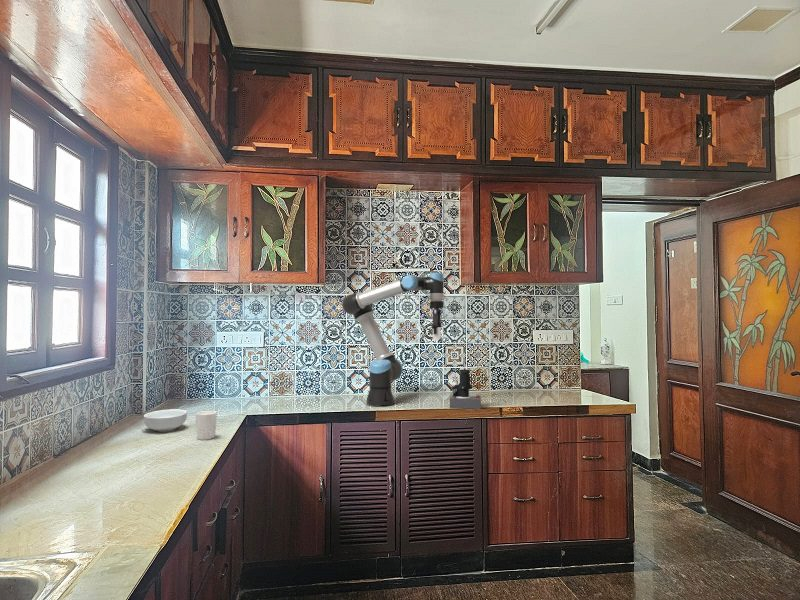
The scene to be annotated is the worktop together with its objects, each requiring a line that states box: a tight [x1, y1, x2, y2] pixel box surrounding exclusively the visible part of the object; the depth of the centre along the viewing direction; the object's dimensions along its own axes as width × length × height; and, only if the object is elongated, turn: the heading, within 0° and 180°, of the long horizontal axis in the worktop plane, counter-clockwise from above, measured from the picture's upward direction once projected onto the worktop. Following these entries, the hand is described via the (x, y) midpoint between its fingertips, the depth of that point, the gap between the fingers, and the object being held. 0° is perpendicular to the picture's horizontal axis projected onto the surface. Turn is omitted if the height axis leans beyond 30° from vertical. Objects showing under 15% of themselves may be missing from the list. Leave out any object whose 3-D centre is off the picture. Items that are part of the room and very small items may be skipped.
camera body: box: [449, 394, 482, 410], centre depth 260 cm, size 16×8×6 cm, turn 79°
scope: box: [451, 369, 473, 397], centre depth 260 cm, size 8×14×10 cm
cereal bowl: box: [143, 408, 188, 433], centre depth 212 cm, size 17×17×7 cm
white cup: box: [195, 410, 218, 441], centre depth 199 cm, size 8×8×10 cm
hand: (436, 339), depth 271 cm, fingers open, 13 cm apart
